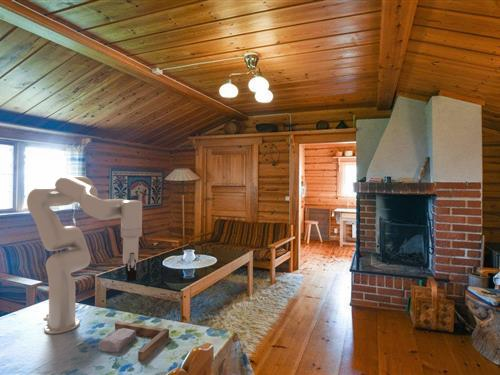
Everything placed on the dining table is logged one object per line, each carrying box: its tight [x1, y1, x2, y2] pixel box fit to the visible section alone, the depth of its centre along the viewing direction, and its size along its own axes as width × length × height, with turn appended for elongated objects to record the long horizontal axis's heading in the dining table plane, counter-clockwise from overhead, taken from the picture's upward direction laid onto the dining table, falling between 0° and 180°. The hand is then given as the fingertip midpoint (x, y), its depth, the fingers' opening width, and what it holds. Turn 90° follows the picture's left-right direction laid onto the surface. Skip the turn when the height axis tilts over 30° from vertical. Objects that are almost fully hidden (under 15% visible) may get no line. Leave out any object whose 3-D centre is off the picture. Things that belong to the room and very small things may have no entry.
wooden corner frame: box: [114, 320, 170, 362], centre depth 115 cm, size 24×17×3 cm
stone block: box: [98, 328, 137, 353], centre depth 115 cm, size 12×5×10 cm
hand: (130, 276), depth 116 cm, fingers open, 9 cm apart
